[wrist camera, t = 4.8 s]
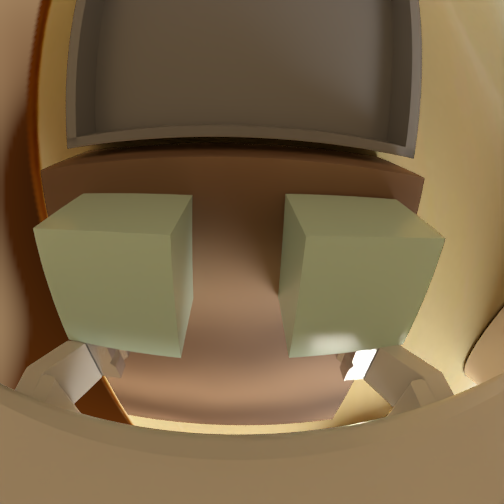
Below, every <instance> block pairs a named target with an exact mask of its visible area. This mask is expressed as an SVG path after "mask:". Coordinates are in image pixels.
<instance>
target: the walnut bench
mask: <svg viewBox="0 0 504 504" xmlns="http://www.w3.org/2000/svg"><path fill="white" fill-rule="evenodd" d="M41 178H42V185H43V191H44V197H45V203H46V208H47V213H48V217H49V216H51V215H52V214H54V213H55V212H56V211H58V210H59V209H61V208H62V207H64V206H65V205H67V204H68V203H69V202H71V201H73V200H74V199H76V198H77V197H79V196H80V195H82V194H83V193H143V194H178V195H193V196H192V266H193V302H192V307H191V311H190V316H189V321H188V326H187V330H186V335H185V340H184V345H183V350H182V355H181V358H176V357H167V356H159V355H151V354H144V353H138V352H131V351H130V354H129V357H127V358H126V359H125V360H124V363H125V368H124V371H123V374H122V377H121V378H115V377H108V376H106V378H107V380H108V381H109V383H110V385H111V387H112V389H113V391H114V392H115V394H116V396H117V398H118V399H119V401H120V403H121V404H122V406H123V408H124V409H125V411H126V412H127V414H128V415H133V416H139V417H145V418H152V419H159V420H167V421H176V422H186V423H198V424H216V425H271V424H289V423H301V422H312V421H321V420H328V419H333V417H334V415H335V414H336V412H337V410H338V409H339V407H340V405H341V403H342V402H343V400H344V398H345V396H346V394H347V393H348V391H349V389H350V387H351V385H352V383H353V381H354V380H347V381H344V380H343V377H342V374H341V371H340V368H339V367H340V365H341V362H340V361H339V360H337V359H336V355H335V354H330V355H319V356H307V357H293V358H289V355H288V350H287V344H286V338H285V332H284V327H283V321H282V316H281V310H280V304H279V299H278V291H279V279H280V267H281V254H282V240H283V225H284V210H285V194H314V195H338V196H356V197H371V198H385V199H396V200H398V201H399V202H400V203H402V204H403V205H404V206H406V207H407V208H408V209H410V210H411V211H412V212H414V213H415V214H416V215H417V211H418V207H419V202H420V198H421V193H422V189H423V184H424V179H425V178H423V177H421V176H419V175H417V174H415V173H413V172H411V171H409V170H407V169H404V168H402V167H400V166H398V165H395V164H393V163H391V162H389V161H386V160H384V159H381V158H379V157H374V156H368V155H362V154H355V153H348V152H341V151H333V150H325V149H315V148H305V147H294V146H281V145H265V144H241V143H183V144H159V145H143V146H131V147H120V148H110V149H101V150H93V151H88V152H85V153H82V154H80V155H77V156H74V157H72V158H69V159H66V160H64V161H61V162H59V163H57V164H54V165H52V166H49V167H47V168H45V169H43V170H41Z"/></svg>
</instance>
